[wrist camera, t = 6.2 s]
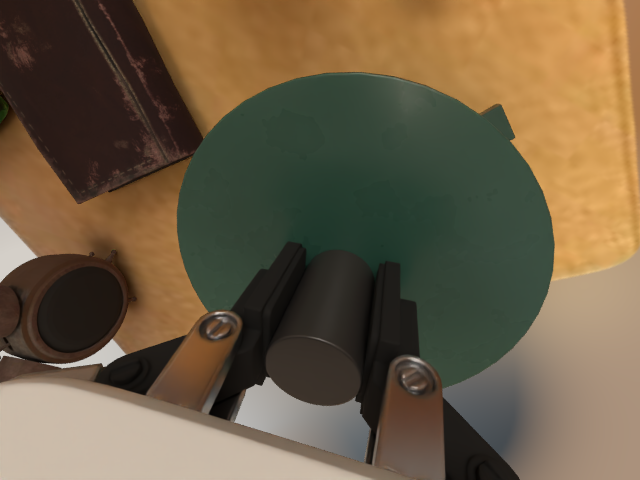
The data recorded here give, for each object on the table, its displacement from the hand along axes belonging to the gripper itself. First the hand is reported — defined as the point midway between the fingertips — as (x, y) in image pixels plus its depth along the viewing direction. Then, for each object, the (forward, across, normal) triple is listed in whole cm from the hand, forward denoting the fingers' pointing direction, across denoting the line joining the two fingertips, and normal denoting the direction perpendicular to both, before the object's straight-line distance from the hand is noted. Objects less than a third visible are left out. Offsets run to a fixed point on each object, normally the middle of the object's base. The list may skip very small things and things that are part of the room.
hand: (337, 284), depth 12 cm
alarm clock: (+21, +37, +24) cm, 49 cm away
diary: (+22, +32, -6) cm, 39 cm away
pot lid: (+1, 0, 0) cm, 1 cm away
